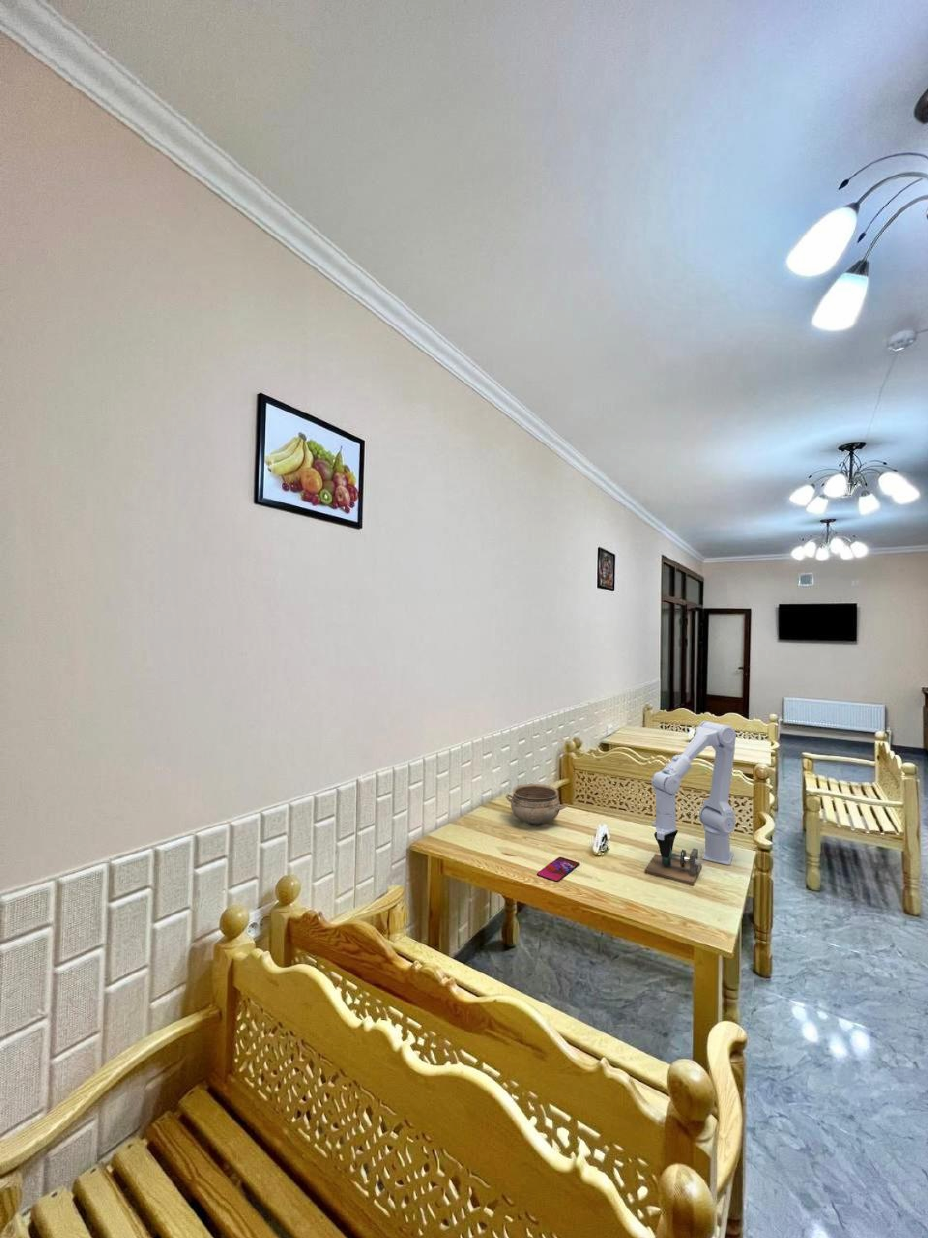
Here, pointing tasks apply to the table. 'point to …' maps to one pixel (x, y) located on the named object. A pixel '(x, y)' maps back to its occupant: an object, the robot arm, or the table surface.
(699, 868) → the eye stand
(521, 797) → the cooking pot
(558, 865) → the smartphone
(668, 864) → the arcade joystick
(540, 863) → the table surface
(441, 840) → the table surface
